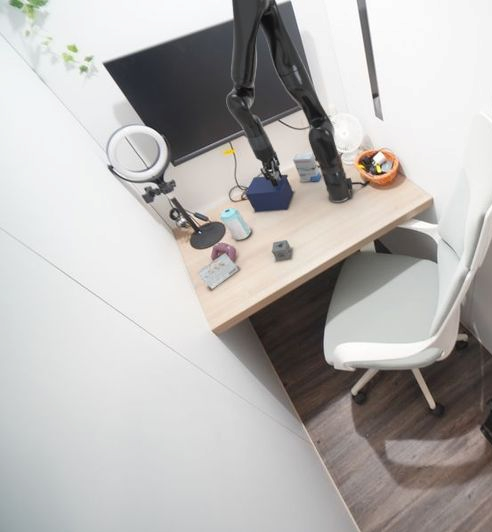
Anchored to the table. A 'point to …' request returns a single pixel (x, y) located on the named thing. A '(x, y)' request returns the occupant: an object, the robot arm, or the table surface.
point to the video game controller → (223, 251)
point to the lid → (266, 185)
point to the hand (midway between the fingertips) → (277, 181)
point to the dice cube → (281, 250)
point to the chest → (272, 200)
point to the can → (235, 223)
